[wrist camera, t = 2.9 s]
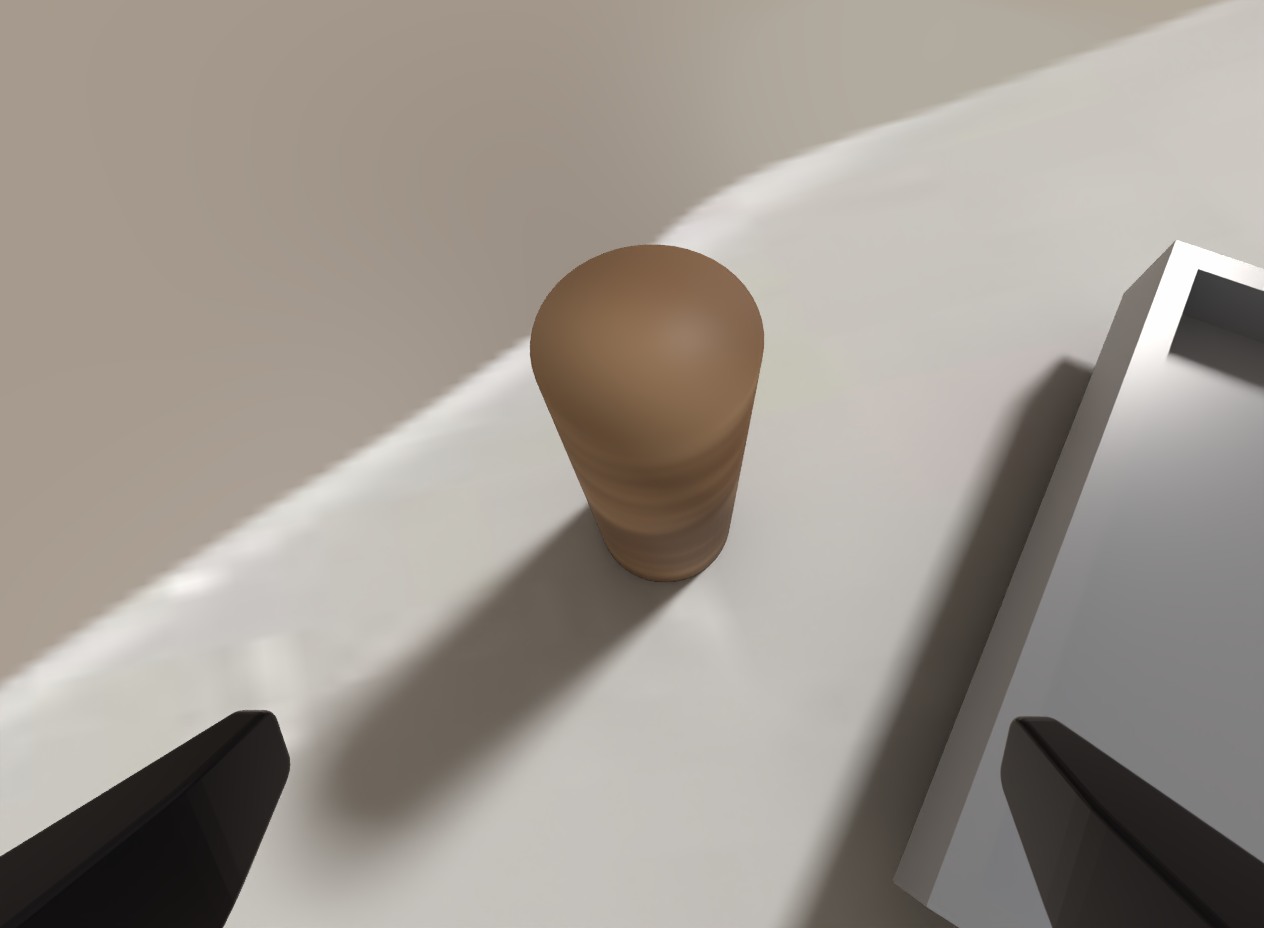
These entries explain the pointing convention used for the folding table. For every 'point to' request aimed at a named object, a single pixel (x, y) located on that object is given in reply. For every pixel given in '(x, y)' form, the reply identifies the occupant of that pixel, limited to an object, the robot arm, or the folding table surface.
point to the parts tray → (1128, 594)
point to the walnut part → (652, 398)
